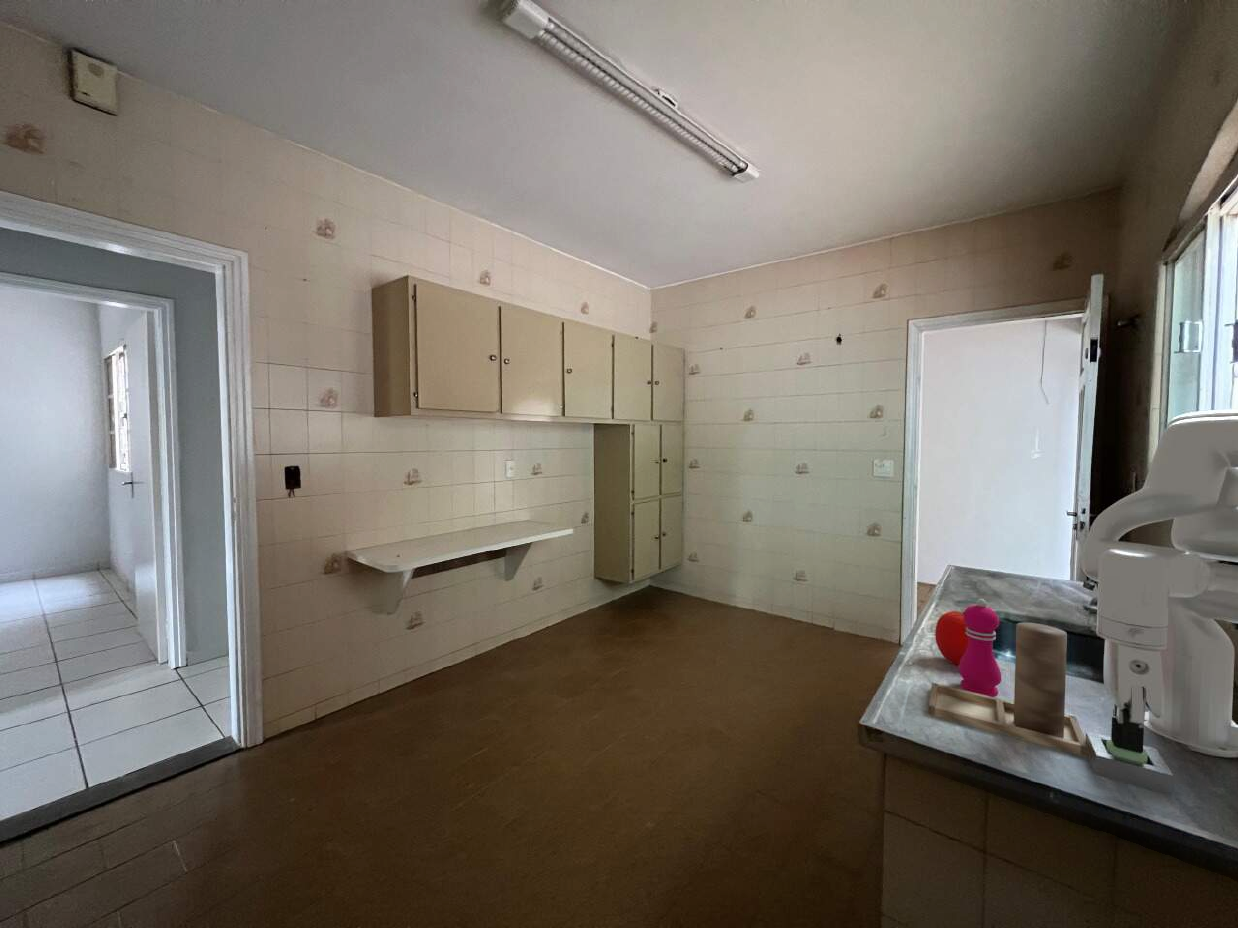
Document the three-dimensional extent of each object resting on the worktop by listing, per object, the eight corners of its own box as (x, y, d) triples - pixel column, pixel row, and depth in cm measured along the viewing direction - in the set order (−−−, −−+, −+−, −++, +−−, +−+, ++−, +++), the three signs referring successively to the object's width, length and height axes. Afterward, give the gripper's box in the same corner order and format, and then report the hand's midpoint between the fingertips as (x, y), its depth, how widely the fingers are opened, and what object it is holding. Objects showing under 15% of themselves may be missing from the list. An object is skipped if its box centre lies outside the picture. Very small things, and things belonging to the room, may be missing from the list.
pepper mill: (1008, 704, 97) (1011, 605, 97) (968, 700, 99) (970, 602, 98) (989, 687, 104) (991, 595, 104) (951, 683, 106) (953, 592, 105)
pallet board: (1075, 730, 88) (1075, 716, 88) (1088, 762, 79) (1089, 747, 79) (931, 694, 101) (932, 682, 101) (928, 718, 92) (928, 705, 92)
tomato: (933, 651, 123) (934, 601, 123) (986, 661, 118) (988, 608, 117) (935, 668, 113) (937, 614, 113) (994, 679, 108) (995, 622, 108)
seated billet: (1060, 726, 88) (1063, 627, 87) (1066, 744, 82) (1070, 639, 82) (1012, 714, 92) (1014, 619, 91) (1015, 731, 86) (1018, 630, 86)
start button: (1141, 771, 76) (1142, 745, 76) (1150, 786, 73) (1151, 760, 73) (1102, 760, 79) (1103, 736, 79) (1109, 775, 75) (1110, 749, 75)
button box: (1154, 773, 77) (1155, 748, 77) (1172, 802, 70) (1173, 775, 70) (1085, 754, 81) (1085, 730, 81) (1095, 780, 75) (1096, 755, 75)
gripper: (1184, 653, 67) (1179, 783, 67) (1150, 622, 79) (1146, 733, 80) (1108, 640, 71) (1104, 763, 72) (1087, 613, 83) (1084, 718, 84)
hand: (1126, 747), depth 76 cm, fingers closed
